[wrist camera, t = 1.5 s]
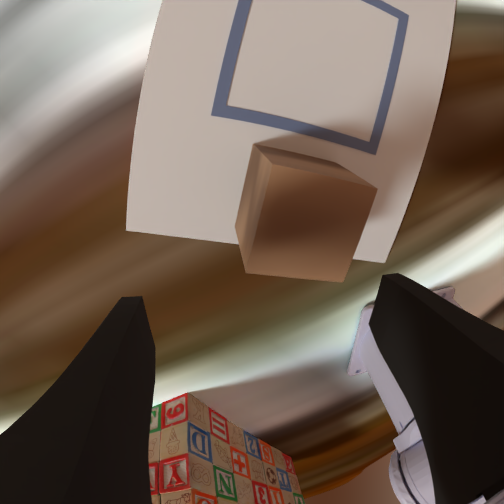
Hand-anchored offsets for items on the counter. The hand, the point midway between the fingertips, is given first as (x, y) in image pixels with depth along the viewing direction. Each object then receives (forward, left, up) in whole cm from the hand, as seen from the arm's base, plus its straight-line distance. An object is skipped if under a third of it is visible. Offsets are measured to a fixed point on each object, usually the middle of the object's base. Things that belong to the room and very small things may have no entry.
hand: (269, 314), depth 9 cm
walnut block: (-3, -1, -8) cm, 9 cm away
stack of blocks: (+3, +26, -9) cm, 28 cm away
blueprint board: (-5, -8, -9) cm, 13 cm away
